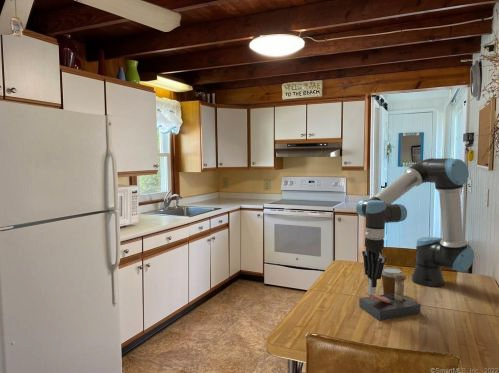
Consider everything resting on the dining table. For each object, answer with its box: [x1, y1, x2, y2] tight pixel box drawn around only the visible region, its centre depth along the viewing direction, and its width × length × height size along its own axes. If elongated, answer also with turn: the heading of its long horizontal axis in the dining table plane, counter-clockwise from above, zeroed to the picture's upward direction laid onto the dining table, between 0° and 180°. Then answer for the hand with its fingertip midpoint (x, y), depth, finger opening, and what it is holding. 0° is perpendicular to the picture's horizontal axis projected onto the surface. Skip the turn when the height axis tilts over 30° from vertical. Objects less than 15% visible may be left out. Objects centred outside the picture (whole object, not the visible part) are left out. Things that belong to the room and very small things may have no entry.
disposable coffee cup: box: [381, 266, 403, 295], centre depth 174 cm, size 10×10×12 cm
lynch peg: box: [394, 273, 407, 302], centre depth 159 cm, size 5×5×15 cm
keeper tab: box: [365, 291, 393, 304], centre depth 156 cm, size 10×6×1 cm, turn 109°
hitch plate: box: [358, 293, 422, 321], centre depth 158 cm, size 20×14×4 cm
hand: (371, 293), depth 154 cm, fingers closed
